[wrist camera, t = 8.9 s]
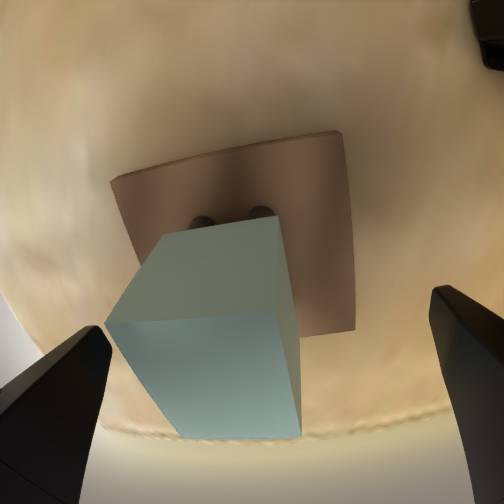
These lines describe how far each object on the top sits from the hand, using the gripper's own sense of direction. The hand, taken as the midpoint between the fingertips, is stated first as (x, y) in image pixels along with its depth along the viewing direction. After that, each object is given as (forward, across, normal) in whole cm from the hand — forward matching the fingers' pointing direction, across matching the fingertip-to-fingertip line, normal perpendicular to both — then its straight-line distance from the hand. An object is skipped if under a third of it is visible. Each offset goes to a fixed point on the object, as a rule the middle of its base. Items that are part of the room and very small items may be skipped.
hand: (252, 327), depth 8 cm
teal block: (+8, +3, +5) cm, 10 cm away
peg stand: (+13, +3, +5) cm, 14 cm away
